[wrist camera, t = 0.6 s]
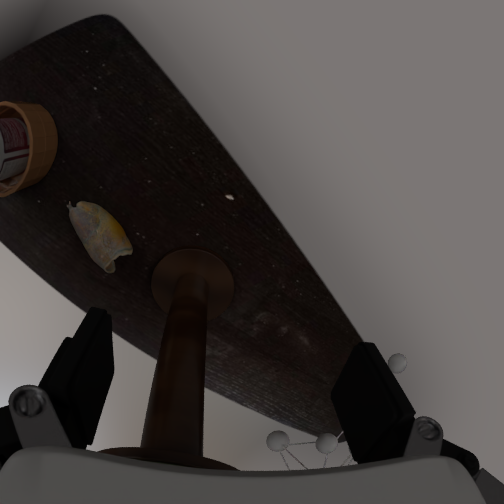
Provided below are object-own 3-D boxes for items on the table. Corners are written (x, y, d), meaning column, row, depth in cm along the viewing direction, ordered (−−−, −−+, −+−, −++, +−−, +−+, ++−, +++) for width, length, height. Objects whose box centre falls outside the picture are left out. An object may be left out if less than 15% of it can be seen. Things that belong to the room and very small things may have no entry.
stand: (151, 242, 32) (58, 440, 10) (237, 248, 33) (268, 463, 11) (154, 315, 35) (106, 509, 13) (230, 320, 36) (247, 522, 14)
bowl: (0, 108, 24) (-30, 109, 19) (62, 98, 25) (35, 95, 20) (-1, 186, 27) (-29, 197, 22) (59, 185, 28) (33, 197, 23)
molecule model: (247, 409, 45) (247, 493, 27) (392, 340, 44) (453, 399, 26) (283, 460, 47) (293, 537, 29) (411, 401, 45) (459, 462, 28)
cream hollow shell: (69, 228, 30) (52, 219, 26) (95, 198, 31) (83, 185, 27) (115, 279, 31) (104, 277, 26) (143, 247, 32) (136, 241, 27)
